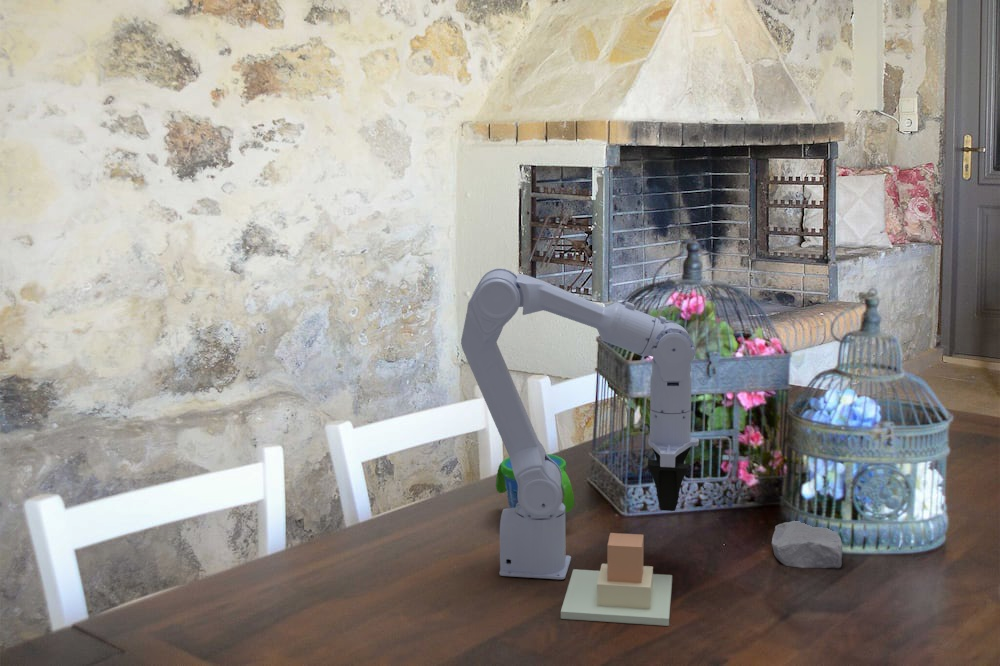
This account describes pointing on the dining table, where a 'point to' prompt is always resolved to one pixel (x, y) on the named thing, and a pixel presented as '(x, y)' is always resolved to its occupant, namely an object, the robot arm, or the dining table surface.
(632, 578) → the top brick
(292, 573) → the dining table surface
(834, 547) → the stone block
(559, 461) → the snack cup
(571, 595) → the base plate
